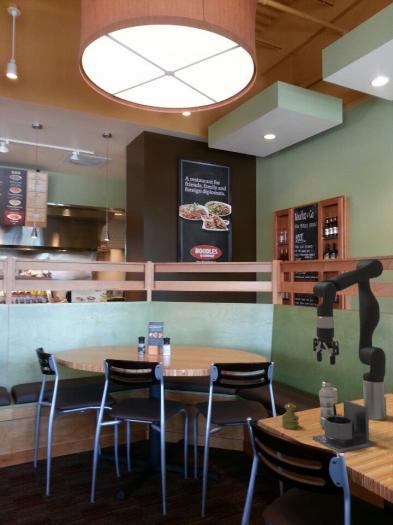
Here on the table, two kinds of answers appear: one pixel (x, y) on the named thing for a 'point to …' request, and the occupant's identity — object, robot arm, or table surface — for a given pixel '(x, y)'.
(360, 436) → the cup bracket
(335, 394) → the character mug
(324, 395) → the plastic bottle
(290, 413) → the brass knob
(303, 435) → the table surface
